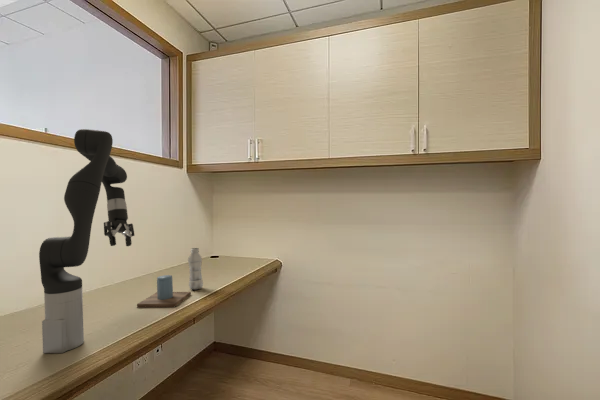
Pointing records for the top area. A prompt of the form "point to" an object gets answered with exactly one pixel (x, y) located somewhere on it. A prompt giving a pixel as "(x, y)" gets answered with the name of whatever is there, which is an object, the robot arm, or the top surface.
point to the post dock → (171, 302)
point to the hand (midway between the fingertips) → (121, 245)
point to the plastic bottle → (195, 269)
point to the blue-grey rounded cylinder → (164, 287)
